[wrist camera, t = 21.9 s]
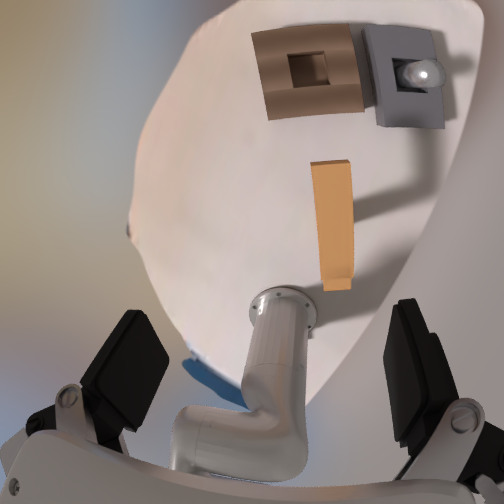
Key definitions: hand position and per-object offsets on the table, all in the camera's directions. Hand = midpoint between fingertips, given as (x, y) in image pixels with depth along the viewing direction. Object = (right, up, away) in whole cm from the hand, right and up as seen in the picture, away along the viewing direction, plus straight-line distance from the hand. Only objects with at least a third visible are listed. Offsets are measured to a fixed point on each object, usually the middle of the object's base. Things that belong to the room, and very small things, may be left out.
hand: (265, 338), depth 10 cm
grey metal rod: (+20, +26, +18) cm, 37 cm away
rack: (+20, +27, +18) cm, 38 cm away
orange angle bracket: (+10, +12, +29) cm, 33 cm away
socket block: (+7, +27, +21) cm, 35 cm away
